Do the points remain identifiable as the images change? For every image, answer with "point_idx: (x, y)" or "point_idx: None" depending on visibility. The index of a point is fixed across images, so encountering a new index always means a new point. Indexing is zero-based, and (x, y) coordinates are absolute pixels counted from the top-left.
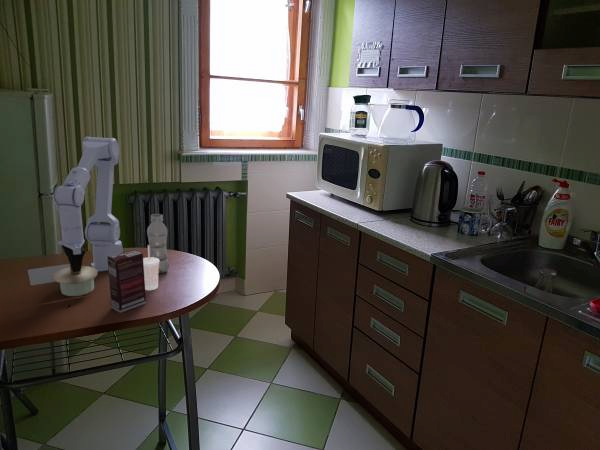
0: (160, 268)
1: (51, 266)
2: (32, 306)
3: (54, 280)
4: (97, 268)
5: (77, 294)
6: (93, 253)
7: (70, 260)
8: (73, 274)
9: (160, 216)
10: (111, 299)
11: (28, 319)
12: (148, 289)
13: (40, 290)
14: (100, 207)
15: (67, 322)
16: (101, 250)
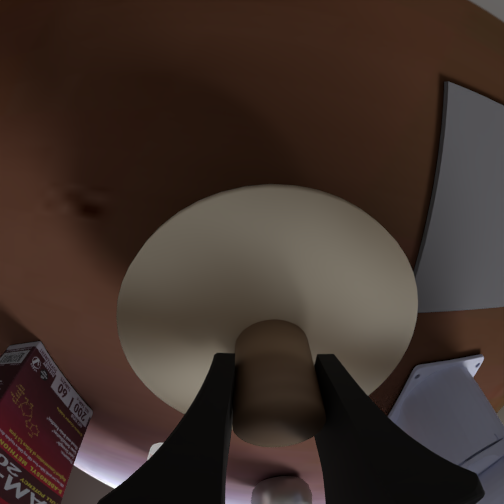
0: (251, 498)
1: None
2: (166, 33)
3: (449, 201)
4: (430, 376)
5: None
6: (474, 412)
7: (165, 447)
8: (240, 335)
9: None
10: (20, 363)
11: (39, 35)
12: (151, 447)
13: (378, 104)
14: None
15: None
16: (441, 455)
